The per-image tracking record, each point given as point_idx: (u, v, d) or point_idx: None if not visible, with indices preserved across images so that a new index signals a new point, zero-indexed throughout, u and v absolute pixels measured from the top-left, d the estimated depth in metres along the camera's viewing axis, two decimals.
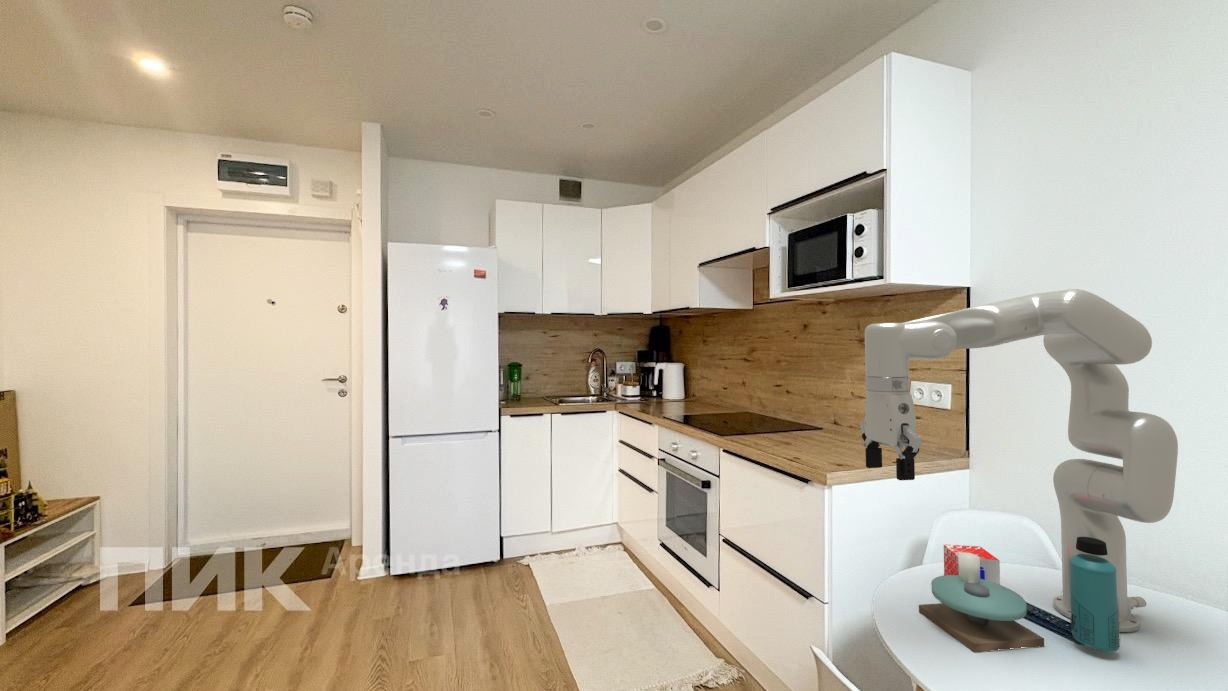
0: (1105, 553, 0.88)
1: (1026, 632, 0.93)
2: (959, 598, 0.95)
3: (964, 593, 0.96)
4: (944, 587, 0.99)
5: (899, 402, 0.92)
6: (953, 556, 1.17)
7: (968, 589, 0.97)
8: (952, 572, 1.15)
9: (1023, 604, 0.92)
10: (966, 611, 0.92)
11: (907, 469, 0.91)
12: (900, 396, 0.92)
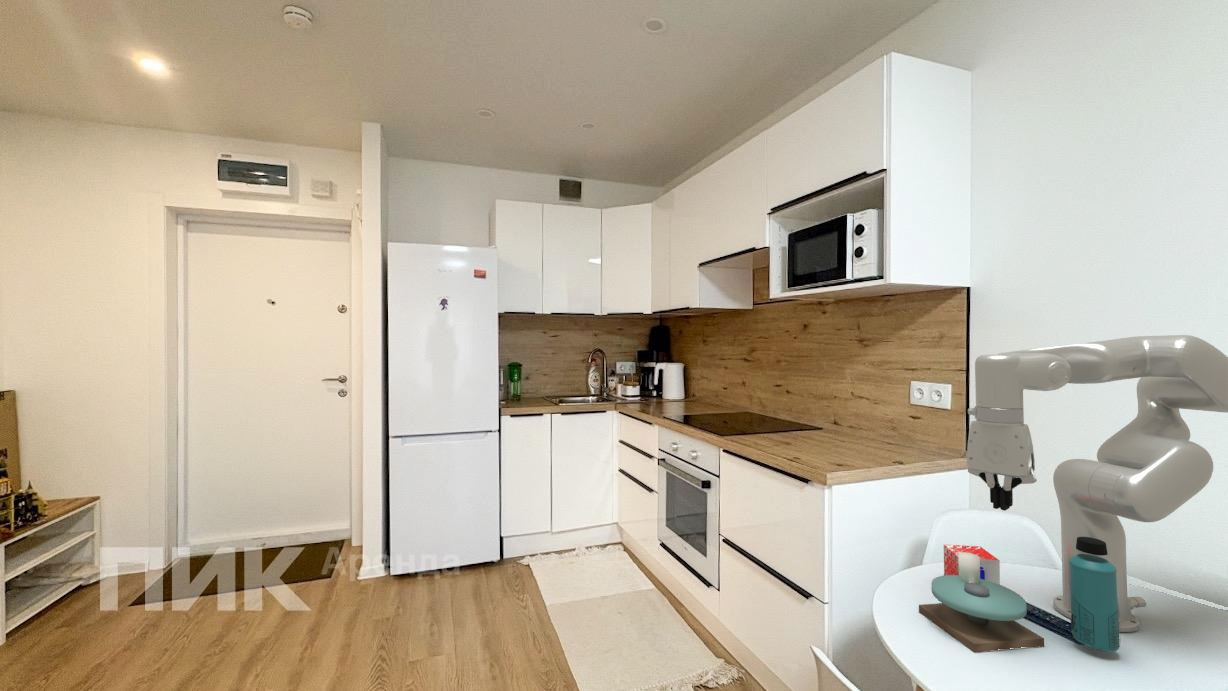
0: (1105, 553, 0.88)
1: (1026, 632, 0.93)
2: (959, 598, 0.95)
3: (964, 593, 0.96)
4: (944, 587, 0.99)
5: None
6: (953, 556, 1.17)
7: (968, 589, 0.97)
8: (952, 572, 1.15)
9: (1023, 604, 0.92)
10: (966, 611, 0.92)
11: None
12: None
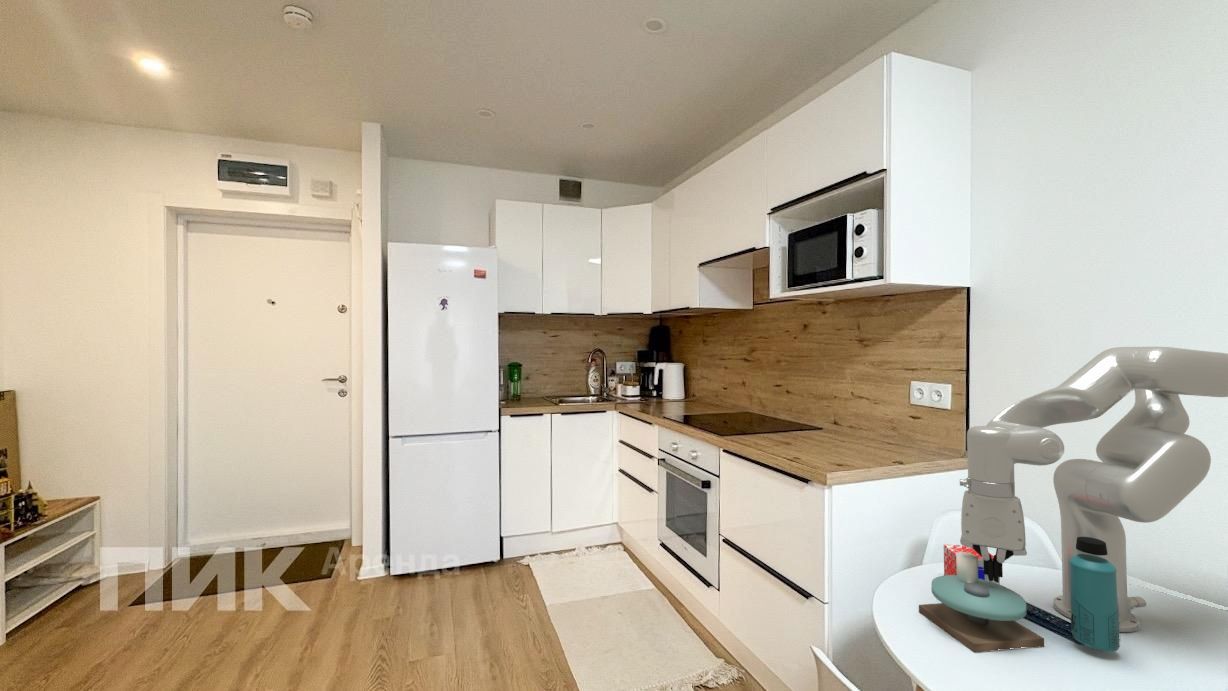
0: (1105, 553, 0.88)
1: (1026, 632, 0.93)
2: (961, 598, 0.95)
3: (965, 594, 0.96)
4: (944, 588, 0.99)
5: None
6: (953, 556, 1.17)
7: (969, 589, 0.96)
8: (952, 572, 1.15)
9: (1023, 603, 0.92)
10: (969, 612, 0.92)
11: None
12: None
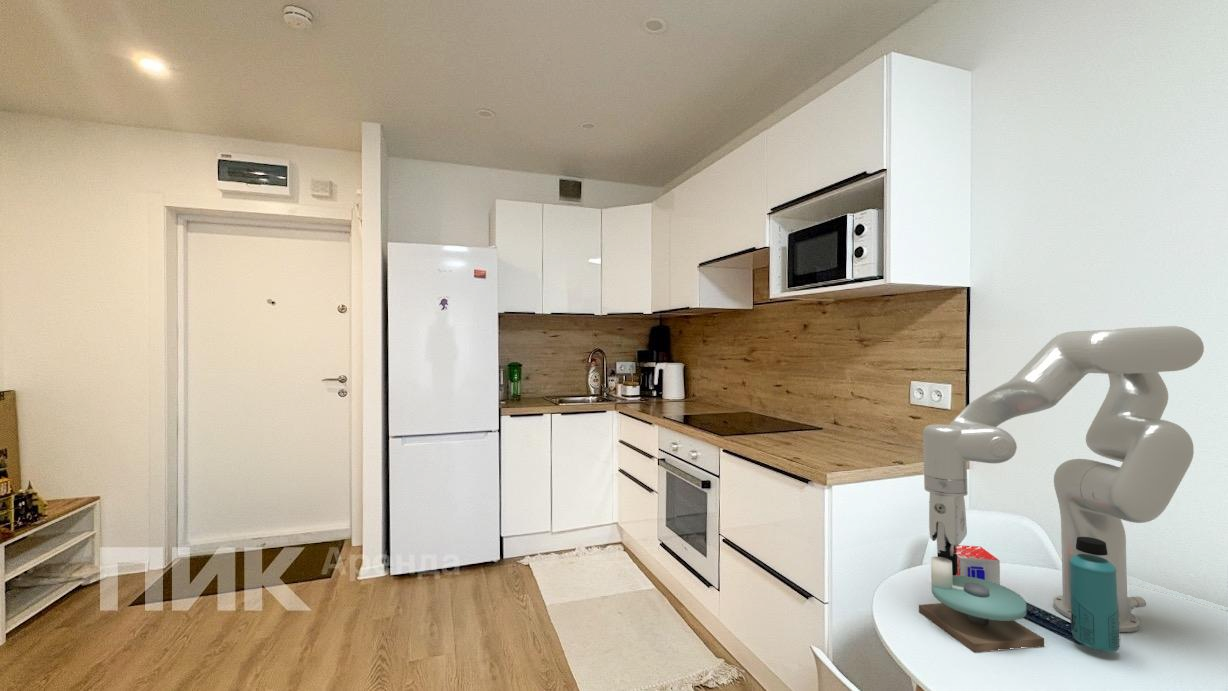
0: (1105, 553, 0.88)
1: (1026, 632, 0.93)
2: (1003, 605, 0.92)
3: (987, 599, 0.94)
4: (978, 604, 0.92)
5: (936, 502, 1.01)
6: None
7: (984, 593, 0.95)
8: None
9: (989, 581, 1.01)
10: (1023, 615, 0.90)
11: None
12: (938, 496, 1.00)
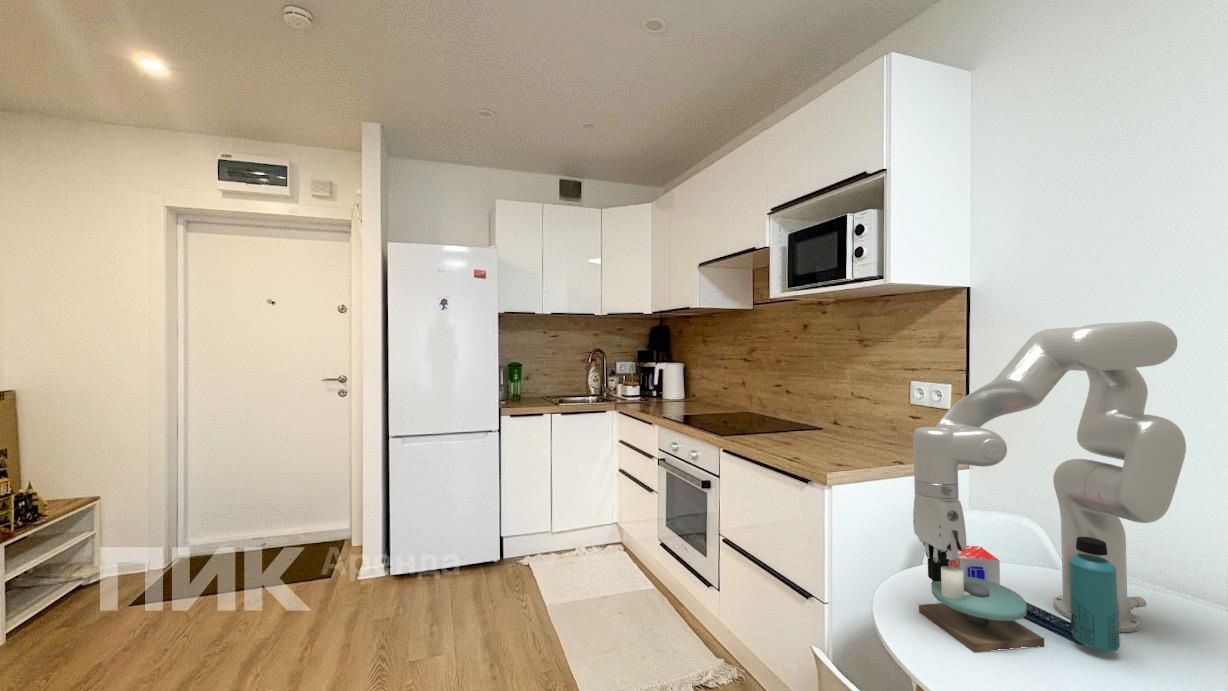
0: (1105, 553, 0.88)
1: (1026, 632, 0.93)
2: (1010, 598, 0.94)
3: (995, 597, 0.95)
4: (1003, 606, 0.92)
5: (948, 509, 0.96)
6: None
7: (989, 591, 0.96)
8: None
9: None
10: None
11: None
12: (949, 503, 0.96)
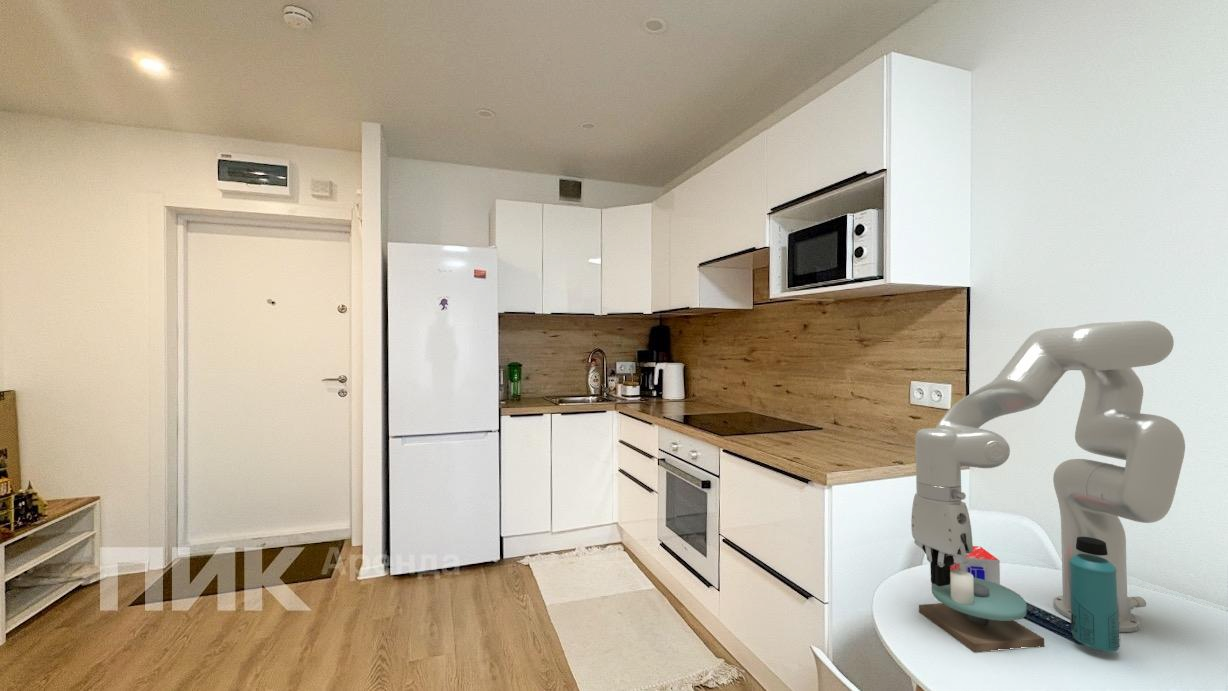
0: (1105, 553, 0.88)
1: (1026, 632, 0.93)
2: (1007, 594, 0.96)
3: (994, 595, 0.96)
4: (1009, 604, 0.92)
5: (957, 512, 0.94)
6: None
7: None
8: None
9: None
10: None
11: (946, 576, 0.97)
12: (958, 506, 0.94)
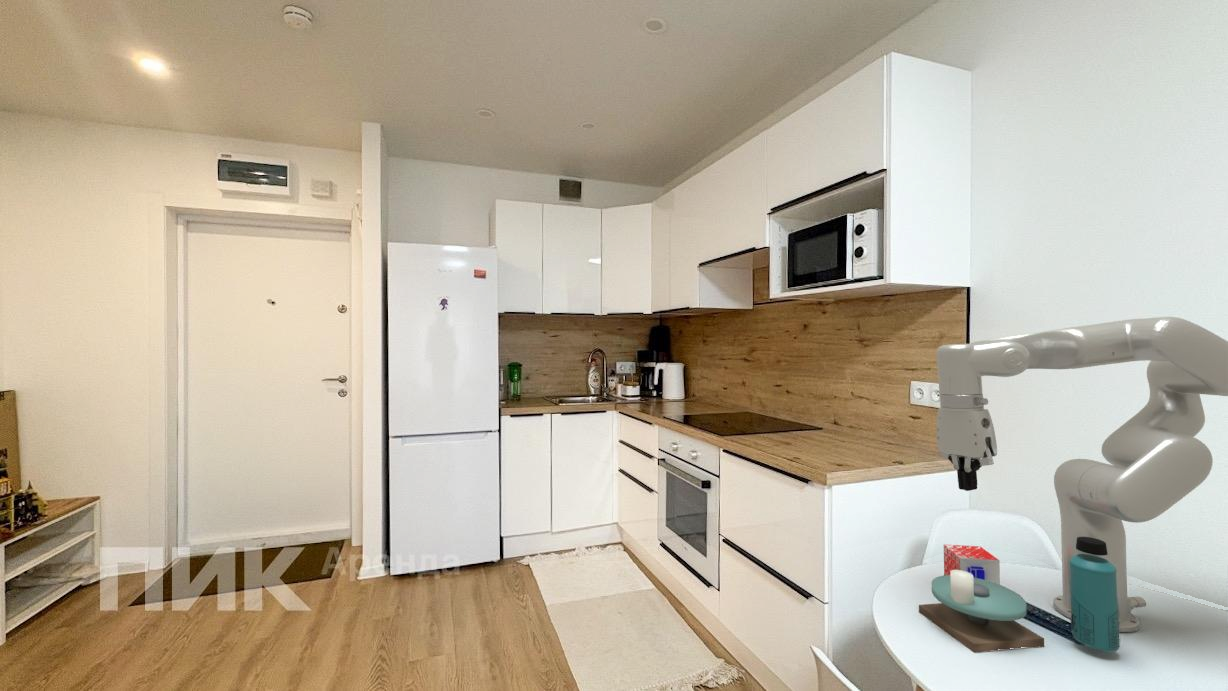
0: (1105, 553, 0.88)
1: (1026, 632, 0.93)
2: (1007, 594, 0.96)
3: (994, 595, 0.96)
4: (1009, 604, 0.92)
5: (981, 417, 1.00)
6: (953, 556, 1.17)
7: None
8: None
9: (945, 576, 1.04)
10: None
11: (973, 480, 1.02)
12: (981, 412, 1.00)
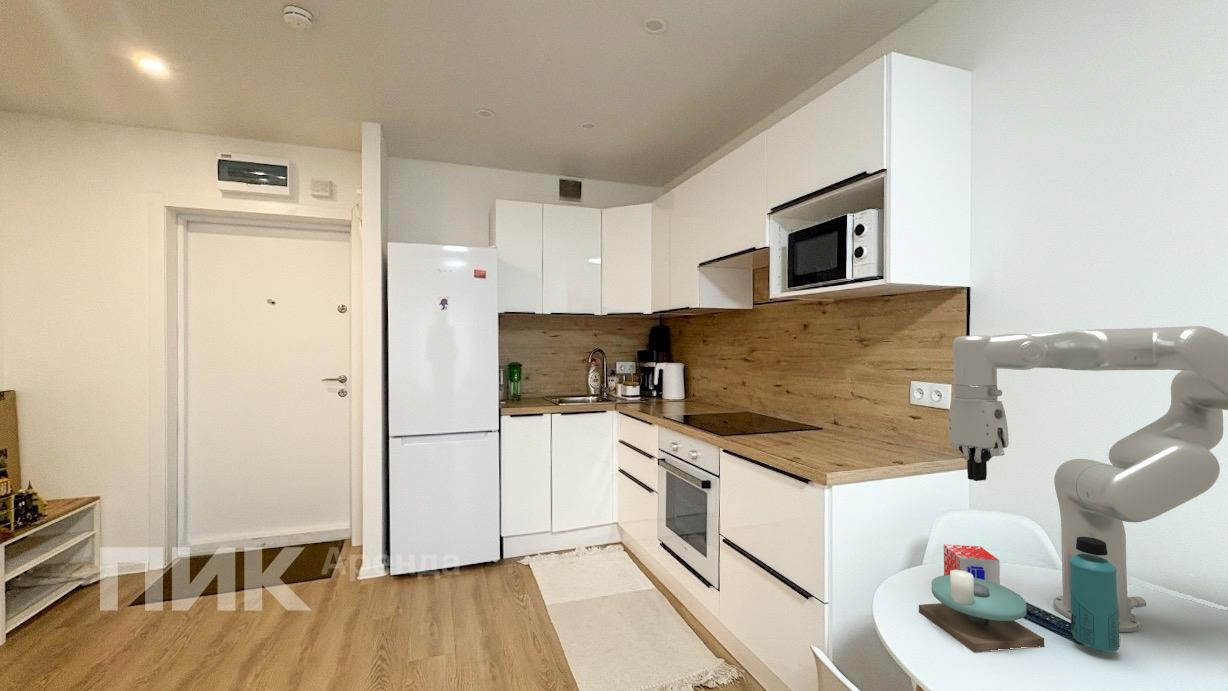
0: (1105, 553, 0.88)
1: (1026, 632, 0.93)
2: (1007, 594, 0.96)
3: (994, 595, 0.96)
4: (1009, 604, 0.92)
5: (995, 408, 1.01)
6: (953, 556, 1.17)
7: None
8: None
9: (945, 576, 1.04)
10: None
11: (982, 471, 1.03)
12: (995, 403, 1.01)
